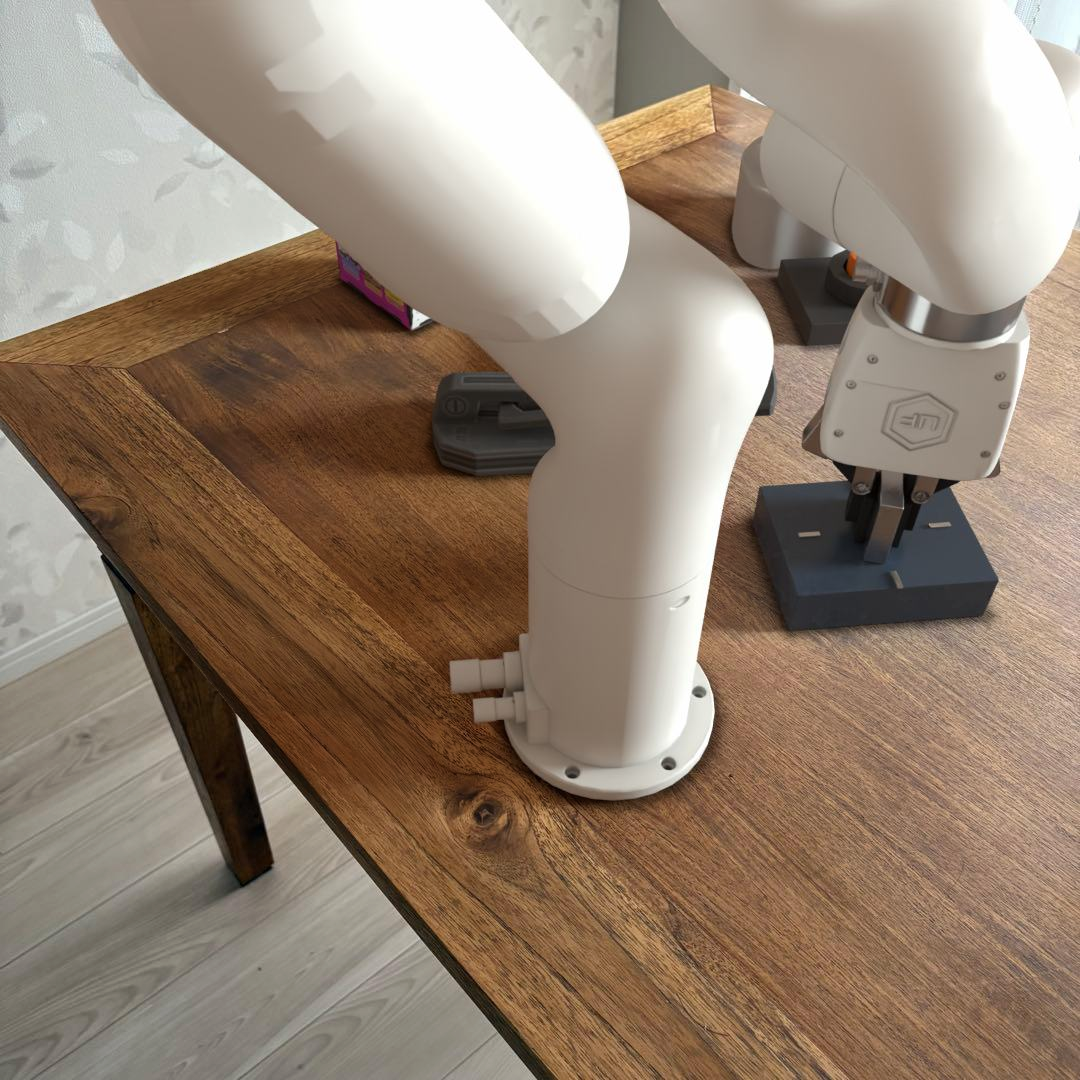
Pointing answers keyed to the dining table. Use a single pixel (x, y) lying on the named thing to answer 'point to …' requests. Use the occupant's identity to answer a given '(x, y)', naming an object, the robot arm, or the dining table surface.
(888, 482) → the gray slab
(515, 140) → the robot arm
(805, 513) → the lever switch base
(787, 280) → the box
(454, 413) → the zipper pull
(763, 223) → the lumpy-topped squat cylinder
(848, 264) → the button
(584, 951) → the dining table surface
